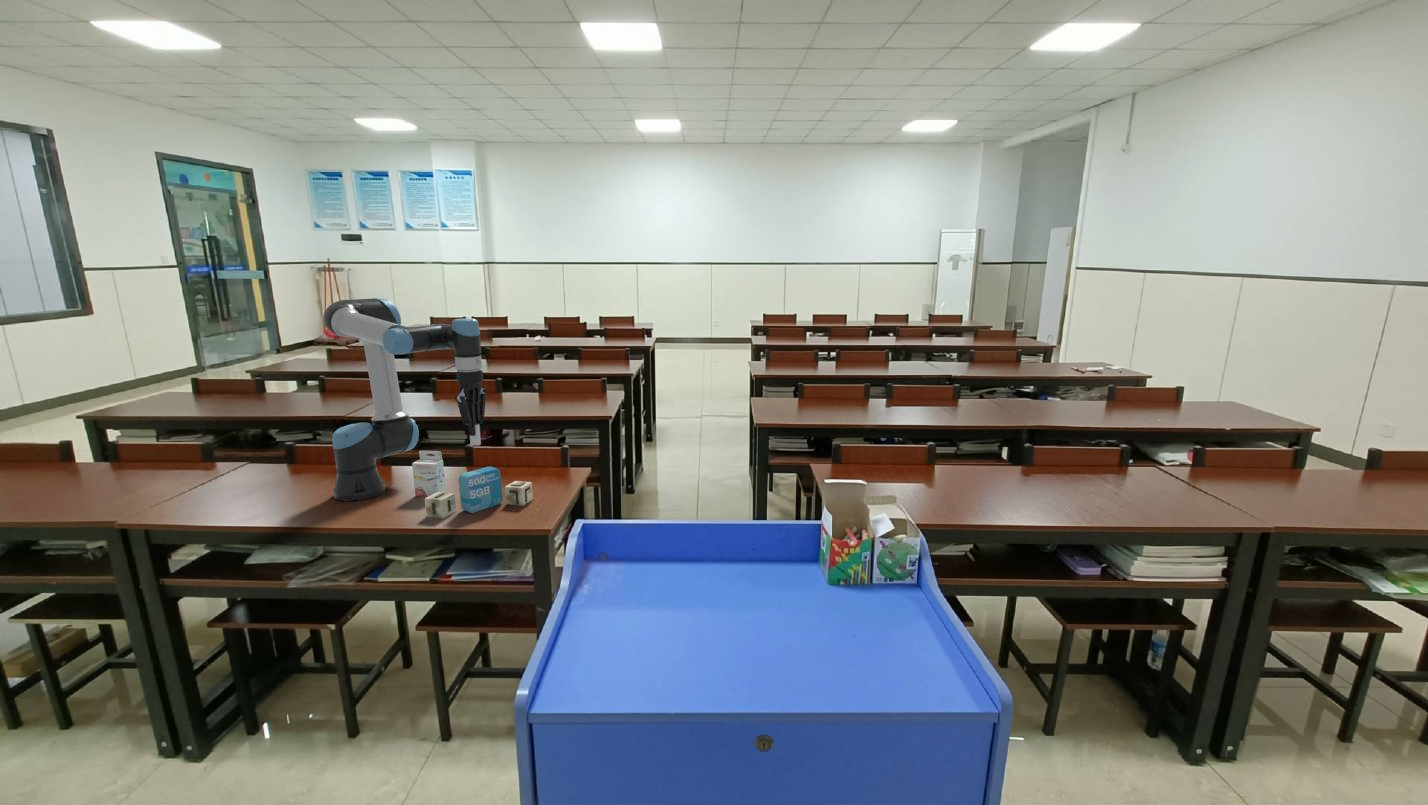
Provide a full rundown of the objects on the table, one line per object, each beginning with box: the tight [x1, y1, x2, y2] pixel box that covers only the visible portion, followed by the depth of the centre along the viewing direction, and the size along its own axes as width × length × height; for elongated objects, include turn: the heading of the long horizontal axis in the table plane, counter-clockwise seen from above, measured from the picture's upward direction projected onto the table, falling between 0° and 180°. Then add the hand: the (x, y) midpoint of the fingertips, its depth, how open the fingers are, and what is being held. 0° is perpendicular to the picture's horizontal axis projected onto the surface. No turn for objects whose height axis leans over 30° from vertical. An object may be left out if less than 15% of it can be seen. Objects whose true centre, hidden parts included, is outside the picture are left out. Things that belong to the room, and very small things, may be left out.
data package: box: [458, 466, 504, 514], centre depth 196 cm, size 12×4×12 cm, turn 141°
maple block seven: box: [504, 480, 534, 507], centre depth 201 cm, size 6×6×6 cm
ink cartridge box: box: [411, 450, 447, 498], centre depth 207 cm, size 9×5×15 cm, turn 84°
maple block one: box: [424, 492, 457, 520], centre depth 191 cm, size 6×6×6 cm
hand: (475, 444), depth 193 cm, fingers closed
